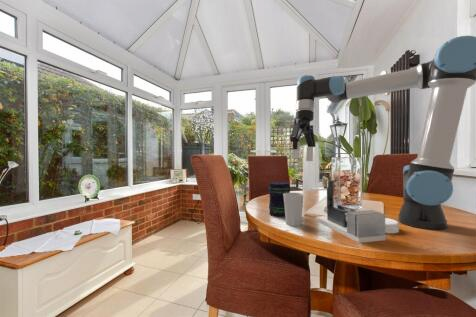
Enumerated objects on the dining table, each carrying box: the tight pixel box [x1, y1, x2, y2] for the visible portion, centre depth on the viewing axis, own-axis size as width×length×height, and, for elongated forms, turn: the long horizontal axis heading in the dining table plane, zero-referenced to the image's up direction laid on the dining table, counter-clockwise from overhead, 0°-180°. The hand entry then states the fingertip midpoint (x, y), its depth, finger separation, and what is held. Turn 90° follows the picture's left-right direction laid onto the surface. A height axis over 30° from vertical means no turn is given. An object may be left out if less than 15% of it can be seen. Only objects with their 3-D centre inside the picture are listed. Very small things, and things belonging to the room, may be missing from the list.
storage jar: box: [268, 181, 291, 218], centre depth 107 cm, size 10×10×15 cm
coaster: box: [385, 217, 400, 235], centre depth 85 cm, size 10×10×4 cm
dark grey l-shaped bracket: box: [323, 179, 347, 222], centre depth 89 cm, size 16×3×14 cm, turn 12°
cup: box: [283, 192, 304, 227], centre depth 93 cm, size 8×8×12 cm
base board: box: [315, 215, 387, 244], centre depth 85 cm, size 26×10×2 cm, turn 12°
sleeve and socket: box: [326, 204, 386, 238], centre depth 83 cm, size 20×10×7 cm, turn 12°
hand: (302, 159), depth 99 cm, fingers open, 13 cm apart
